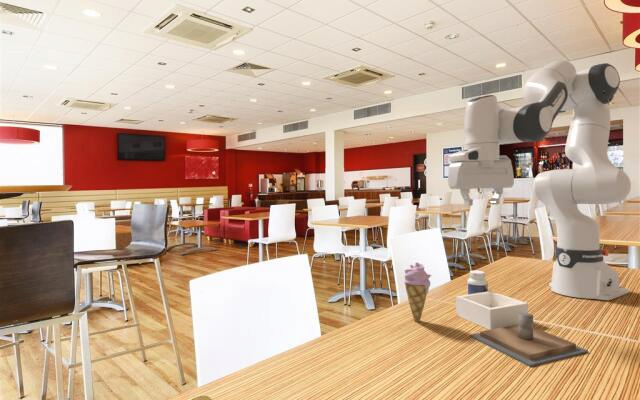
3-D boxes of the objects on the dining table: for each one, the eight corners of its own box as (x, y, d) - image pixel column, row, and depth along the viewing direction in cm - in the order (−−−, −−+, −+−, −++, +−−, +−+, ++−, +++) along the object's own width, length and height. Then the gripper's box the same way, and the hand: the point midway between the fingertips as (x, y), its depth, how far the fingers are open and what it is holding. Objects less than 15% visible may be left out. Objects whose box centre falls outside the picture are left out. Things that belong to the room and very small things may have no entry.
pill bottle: (489, 308, 107) (489, 274, 107) (469, 307, 108) (469, 273, 108) (485, 302, 112) (485, 270, 112) (466, 302, 113) (465, 269, 113)
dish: (490, 308, 107) (490, 291, 107) (527, 322, 96) (527, 303, 95) (456, 314, 103) (455, 296, 102) (490, 330, 91) (490, 309, 91)
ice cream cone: (432, 318, 100) (431, 261, 100) (431, 326, 94) (430, 266, 94) (406, 316, 102) (405, 260, 102) (403, 324, 96) (402, 265, 96)
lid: (522, 327, 92) (522, 302, 91) (575, 348, 79) (575, 320, 79) (480, 335, 87) (480, 310, 87) (529, 359, 75) (529, 329, 75)
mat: (522, 326, 94) (522, 324, 94) (588, 352, 79) (588, 350, 79) (470, 336, 88) (470, 334, 88) (530, 366, 73) (530, 364, 73)
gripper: (501, 156, 112) (501, 203, 112) (444, 155, 105) (444, 206, 105) (519, 154, 106) (519, 204, 106) (460, 153, 99) (460, 207, 99)
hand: (482, 205), depth 106 cm, fingers open, 8 cm apart
